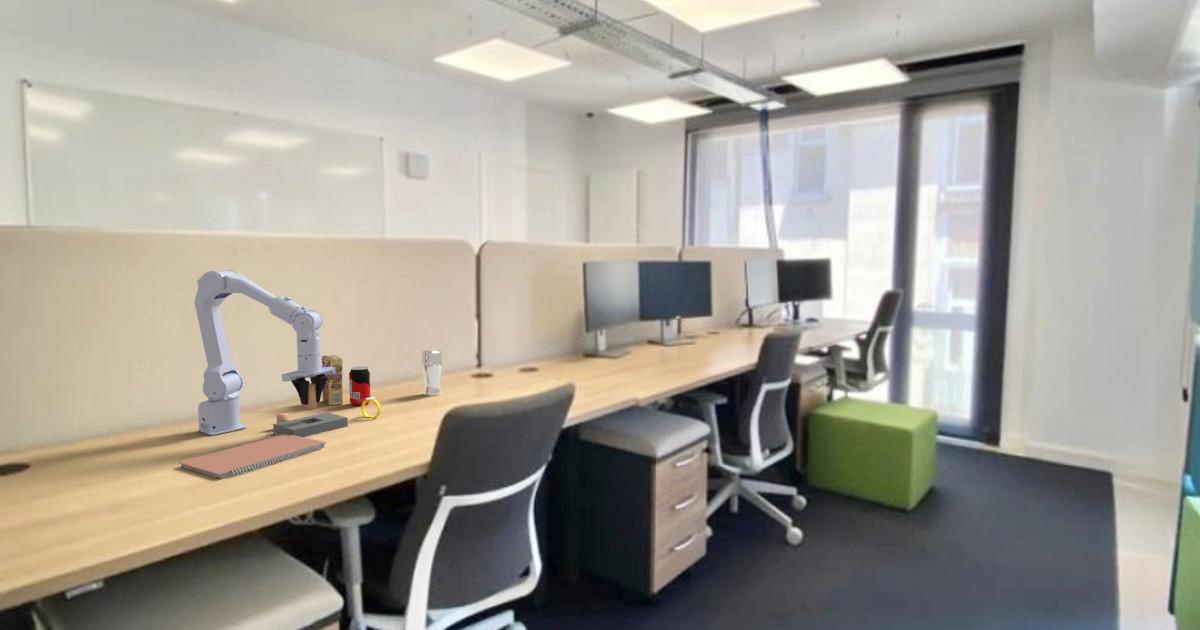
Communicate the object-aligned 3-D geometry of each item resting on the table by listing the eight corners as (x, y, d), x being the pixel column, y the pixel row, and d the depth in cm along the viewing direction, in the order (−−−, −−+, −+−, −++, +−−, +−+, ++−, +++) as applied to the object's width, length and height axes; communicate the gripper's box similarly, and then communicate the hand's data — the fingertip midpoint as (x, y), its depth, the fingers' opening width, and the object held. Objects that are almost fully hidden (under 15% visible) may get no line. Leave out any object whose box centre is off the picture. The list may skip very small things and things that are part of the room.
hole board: (293, 439, 168) (293, 430, 168) (273, 432, 174) (273, 423, 174) (347, 426, 181) (347, 417, 181) (327, 420, 187) (327, 412, 187)
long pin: (308, 410, 175) (307, 385, 174) (302, 409, 177) (301, 384, 176) (318, 408, 177) (317, 384, 177) (313, 407, 179) (312, 382, 179)
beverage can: (366, 406, 204) (365, 369, 203) (346, 406, 204) (345, 369, 203) (373, 402, 211) (372, 366, 209) (354, 401, 211) (353, 366, 210)
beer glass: (446, 393, 224) (446, 351, 223) (431, 397, 218) (431, 354, 217) (432, 391, 228) (432, 349, 227) (417, 394, 222) (417, 352, 221)
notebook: (222, 482, 138) (222, 474, 138) (178, 469, 146) (178, 461, 146) (329, 449, 162) (328, 441, 162) (286, 439, 170) (285, 432, 170)
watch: (360, 418, 191) (358, 399, 190) (365, 416, 193) (364, 397, 193) (378, 418, 189) (376, 399, 189) (383, 416, 192) (381, 397, 191)
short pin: (280, 430, 177) (280, 416, 176) (274, 428, 178) (274, 414, 178) (291, 428, 179) (290, 414, 179) (285, 426, 181) (284, 412, 180)
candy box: (344, 404, 207) (342, 357, 206) (330, 406, 205) (328, 359, 203) (335, 399, 214) (334, 354, 213) (322, 400, 211) (320, 355, 210)
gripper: (291, 359, 167) (293, 410, 169) (341, 352, 179) (342, 400, 181) (277, 357, 171) (279, 406, 173) (326, 350, 183) (328, 396, 185)
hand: (310, 403), depth 177 cm, fingers closed on long pin, 3 cm apart
